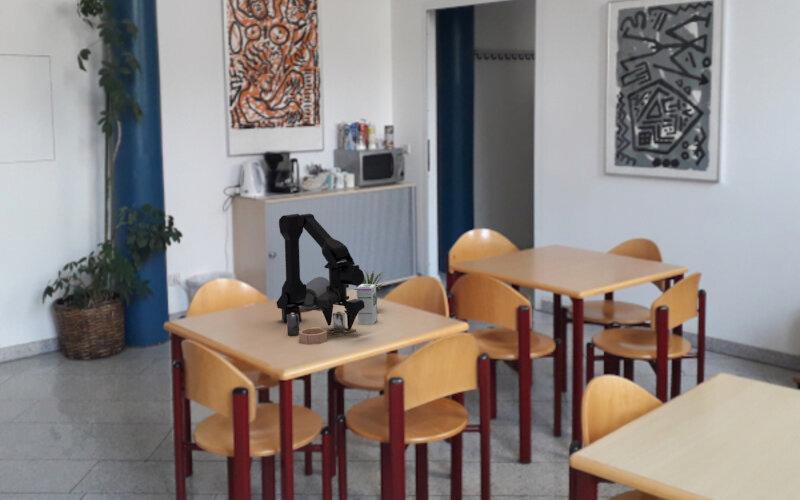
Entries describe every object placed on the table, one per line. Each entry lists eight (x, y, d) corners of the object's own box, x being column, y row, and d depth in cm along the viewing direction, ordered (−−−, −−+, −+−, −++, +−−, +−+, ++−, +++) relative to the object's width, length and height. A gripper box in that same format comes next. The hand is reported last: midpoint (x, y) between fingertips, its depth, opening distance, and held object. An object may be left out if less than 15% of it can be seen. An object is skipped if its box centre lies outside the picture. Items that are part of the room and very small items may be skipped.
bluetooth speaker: (310, 299, 365) (309, 275, 363) (332, 299, 364) (331, 275, 362) (296, 312, 343) (294, 286, 341) (320, 312, 341) (319, 286, 340)
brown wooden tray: (323, 336, 306) (322, 331, 306) (338, 331, 312) (338, 326, 312) (340, 339, 301) (340, 334, 301) (356, 334, 307) (356, 329, 307)
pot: (293, 344, 297) (293, 332, 296) (312, 338, 304) (312, 326, 303) (313, 348, 291) (313, 336, 290) (332, 342, 298) (332, 330, 297)
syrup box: (374, 327, 316) (372, 287, 314) (357, 327, 318) (356, 286, 315) (377, 323, 322) (376, 283, 320) (361, 323, 323) (360, 283, 321)
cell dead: (285, 335, 304) (284, 313, 303) (293, 332, 308) (292, 311, 306) (293, 337, 302) (292, 314, 301) (302, 334, 305) (301, 312, 304)
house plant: (398, 309, 342) (397, 267, 340) (378, 317, 331) (376, 273, 328) (367, 306, 350) (365, 264, 347) (346, 313, 338) (344, 270, 336)
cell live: (331, 334, 306) (330, 312, 305) (339, 331, 309) (338, 310, 308) (340, 335, 304) (339, 313, 303) (347, 333, 307) (347, 311, 306)
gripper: (300, 283, 303) (302, 328, 306) (342, 289, 292) (344, 336, 294) (323, 277, 312) (325, 321, 314) (364, 283, 300) (366, 329, 303)
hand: (339, 327), depth 306 cm, fingers open, 9 cm apart
